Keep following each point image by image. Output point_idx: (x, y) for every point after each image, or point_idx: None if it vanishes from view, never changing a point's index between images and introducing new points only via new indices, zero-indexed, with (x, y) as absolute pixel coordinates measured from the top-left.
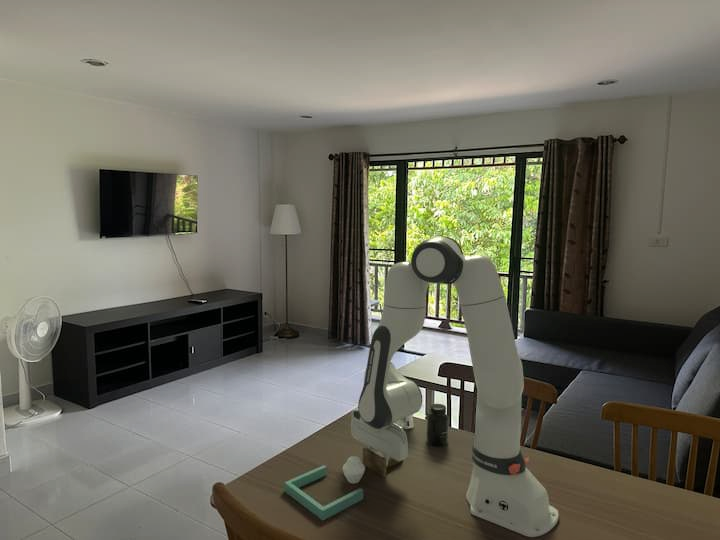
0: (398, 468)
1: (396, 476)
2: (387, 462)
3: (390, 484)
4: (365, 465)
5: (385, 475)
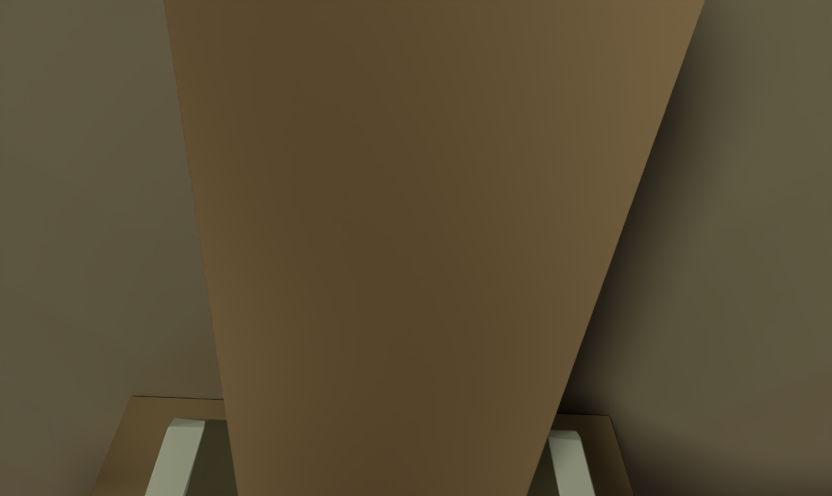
0: (671, 158)
1: (749, 341)
2: (588, 484)
3: (748, 476)
4: None
5: (610, 440)
